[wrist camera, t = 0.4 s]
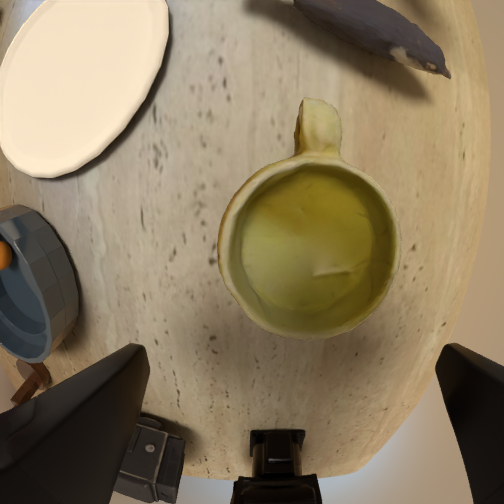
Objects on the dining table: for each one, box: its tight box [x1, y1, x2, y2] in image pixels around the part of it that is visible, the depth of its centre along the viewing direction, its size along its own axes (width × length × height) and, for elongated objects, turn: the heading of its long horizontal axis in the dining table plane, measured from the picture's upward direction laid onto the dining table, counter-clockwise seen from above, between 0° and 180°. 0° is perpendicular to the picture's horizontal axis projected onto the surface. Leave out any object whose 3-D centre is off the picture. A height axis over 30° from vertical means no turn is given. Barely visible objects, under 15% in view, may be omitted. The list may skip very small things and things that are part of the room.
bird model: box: [294, 0, 451, 79], centre depth 13 cm, size 4×17×5 cm, turn 65°
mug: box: [217, 98, 401, 340], centre depth 16 cm, size 12×10×10 cm
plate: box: [0, 0, 169, 178], centre depth 16 cm, size 21×21×1 cm
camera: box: [113, 416, 185, 504], centre depth 24 cm, size 11×11×15 cm
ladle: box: [11, 359, 50, 408], centre depth 26 cm, size 18×5×8 cm, turn 179°
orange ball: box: [0, 241, 12, 270], centre depth 20 cm, size 3×3×3 cm
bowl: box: [0, 205, 79, 363], centre depth 20 cm, size 15×15×6 cm
